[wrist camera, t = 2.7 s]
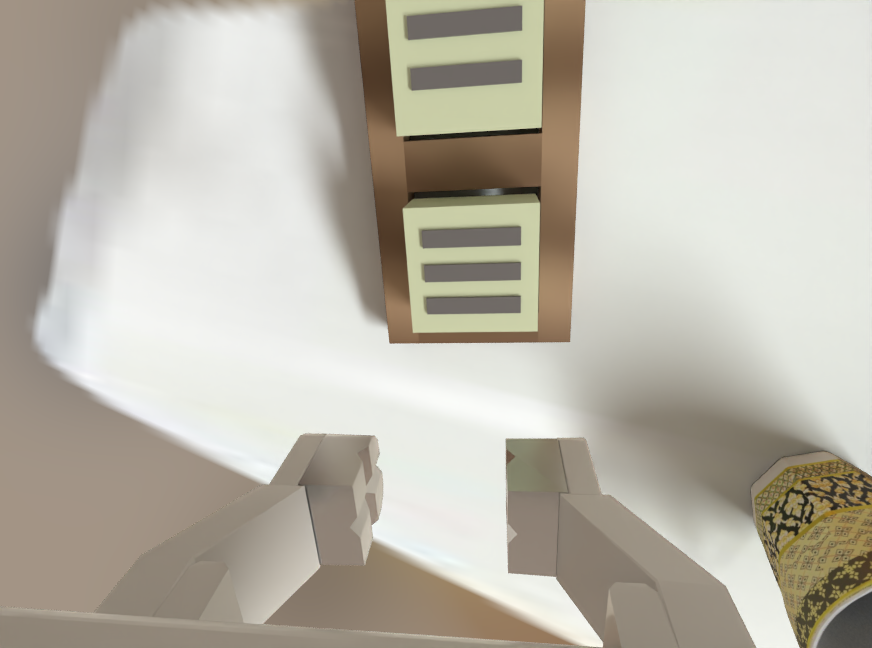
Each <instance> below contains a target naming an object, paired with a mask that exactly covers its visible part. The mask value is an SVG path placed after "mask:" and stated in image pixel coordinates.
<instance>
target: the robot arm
mask: <svg viewBox="0 0 872 648" xmlns="http://www.w3.org/2000/svg"><path fill="white" fill-rule="evenodd" d="M379 454H380V452H379V445H378V439H377V438H376V437H375V436H371V435H345V434H328V435H327V434H310V433H305V434H303V435H301V436H300V437H299V438H298V440H297V441H296V443H295V444H294V446H293V448H292V449H291V451H290V452H289V454H288V455H287V457H286V459H285V460H284V462H283V463H282V465H281V466H280V468H279V470H278V471H277V473H276V474H275V476H274V478H273V479H272V481H271V482H270V484H269V485H265V484H262V485H260V486H258V487H256V488H255V489H253V490H251V491H250V492H248V493H246V494H245V495H243V496H241V497H239V498H238V499H236V500H234V501H233V502H231V503H229V504H228V505H226V506H224V507H222V508H221V509H219V510H217V511H216V512H214V513H212V514H210V515H209V516H207V517H205V518H204V519H202V520H200V521H198V522H197V523H195V524H193V525H192V526H190V527H188V528H187V529H185V530H183V531H181V532H180V533H178V534H177V535H175V536H173V537H171V538H169V539H168V540H166V541H164V542H163V543H161V544H159V545H158V546H156V547H154V548H152V549H151V550H149V551H147V552H146V553H144V554H142V555H141V556H140V557H139V558H138V560H137V561H136V562H135V563H134V564H133V565H132V567H131V568H130V569H129V570H128V571H127V573H126V574H125V575H124V576H123V578H122V579H121V580H120V581H119V582H118V583H117V585H116V586H115V587H114V588H113V590H112V591H111V592H110V593H109V594H108V596H107V597H106V598H105V599H104V600H103V602H102V603H101V604H100V605H99V607H98V608H97V609H96V610H95V612H94V613H89V612H74V611H59V610H44V609H29V608H15V607H0V648H602V647H588V646H573V645H559V644H545V643H544V644H543V643H530V642H516V641H502V640H488V639H474V638H460V637H445V636H430V635H415V634H399V633H385V632H370V631H369V632H368V631H354V630H340V629H325V628H324V629H323V628H310V627H295V626H280V625H264V624H263V623H264V622H265V621H266V620H267V619H268V618H269V617H270V616H271V615H272V614H273V613H274V612H275V611H276V610H277V609H278V608H279V607H280V606H281V605H282V604H283V603H284V602H285V601H286V600H287V599H288V598H289V597H290V596H291V595H292V594H293V593H294V592H295V591H296V590H298V589H299V587H301V586H302V585H303V584H304V583H305V582H306V581H307V580H308V579H309V578H310V577H311V576H312V575H313V574H314V573H315V572H316V571H317V570H318V569H319V568H320V565H360V566H363V565H365V562H366V559H367V556H368V552H369V549H370V546H371V543H372V539H373V533H372V524H374V523H375V522H376V521H377V520H378V519H379V515H380V512H381V508H382V500H383V476H382V471H381V470H380V469H379V468H378V467H377V466H376V463H377V460H378V457H379ZM506 515H507V553H508V573H515V574H528V575H540V576H553V577H556V579H557V581H558V582H559V583H560V585H561V586H562V587H563V589H564V590H565V591H566V593H567V594H568V596H569V597H570V598H571V600H572V601H573V602H574V604H575V605H576V606H577V608H578V609H579V610H580V612H581V613H582V614H583V616H584V617H585V619H586V620H587V621H588V623H589V624H590V625H591V627H592V628H593V629H594V631H595V632H596V633H597V635H598V636H599V637H600V639H601V640H602V642H603V648H756V646H755V644H754V642H753V640H752V638H751V636H750V634H749V632H748V630H747V628H746V626H745V624H744V622H743V620H742V618H741V616H740V614H739V612H738V610H737V608H736V606H735V604H734V602H733V600H732V598H731V596H730V594H729V592H728V590H727V588H726V586H725V585H724V584H722V583H721V582H720V581H719V580H717V579H716V578H715V577H713V576H712V575H711V574H710V573H708V572H707V571H706V570H705V569H703V568H702V567H701V566H700V565H698V564H697V563H696V562H694V561H693V560H692V559H691V558H689V557H688V556H687V555H686V554H684V553H683V552H682V551H681V550H679V549H678V548H677V547H675V546H674V545H673V544H672V543H670V542H669V541H668V540H667V539H665V538H664V537H663V536H662V535H660V534H659V533H658V532H656V531H655V530H654V529H653V528H651V527H650V526H649V525H648V524H646V523H645V522H644V521H642V520H641V519H640V518H639V517H637V516H636V515H635V514H634V513H632V512H631V511H630V510H629V509H627V508H626V507H625V506H623V505H622V504H621V503H620V502H618V501H617V500H616V499H615V498H613V497H612V496H611V495H602V493H601V489H600V486H599V483H598V479H597V476H596V472H595V469H594V465H593V462H592V458H591V455H590V451H589V448H588V444H587V441H586V440H585V439H584V438H557V439H509V438H506Z"/></svg>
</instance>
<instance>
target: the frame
mask: <svg viewBox="0 0 872 648" xmlns="http://www.w3.org/2000/svg"><path fill="white" fill-rule="evenodd" d="M355 10H356V20H357V29H358V39H359V49H360V59H361V68H362V78H363V88H364V98H365V108H366V117H367V127H368V137H369V147H370V157H371V166H372V176H373V186H374V196H375V205H376V215H377V225H378V235H379V245H380V254H381V264H382V274H383V284H384V293H385V303H386V313H387V323H388V333H389V342H390V343H514V342H570V329H571V307H572V285H573V263H574V241H575V220H576V198H577V176H578V154H579V132H580V110H581V88H582V66H583V44H584V22H585V0H544V22H543V74H542V127H541V128H539V133H524V134H508V135H491V136H474V137H458V138H441V139H424V140H410V136H397V134H396V122H395V110H394V98H393V86H392V74H391V61H390V49H389V37H388V25H387V13H386V1H385V0H355ZM537 186H538V200H539V202H540V232H539V285H538V331H533V332H435V333H413V328H412V316H411V304H410V292H409V280H408V268H407V255H406V243H405V231H404V219H403V208H404V207H405V206H406V205H407V204H408V203H409V202H410V201H411V200H412V199H414V192H429V191H451V190H472V189H494V188H515V187H537Z"/></svg>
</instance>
